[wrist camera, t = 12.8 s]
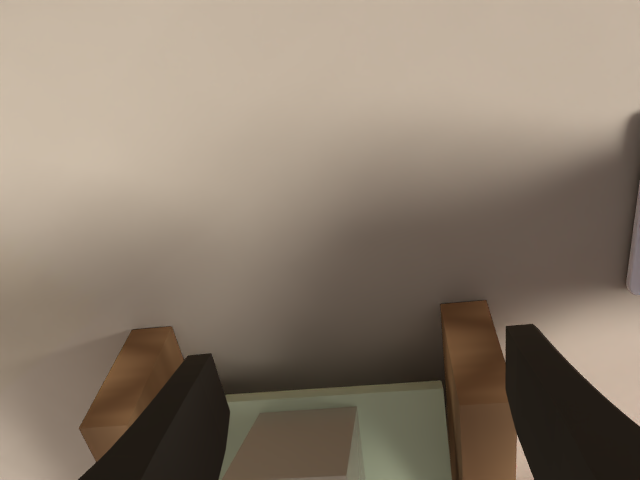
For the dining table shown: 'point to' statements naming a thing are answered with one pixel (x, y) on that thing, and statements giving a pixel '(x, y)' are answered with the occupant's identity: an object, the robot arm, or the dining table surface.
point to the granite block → (301, 447)
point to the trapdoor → (365, 425)
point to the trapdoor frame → (460, 381)
